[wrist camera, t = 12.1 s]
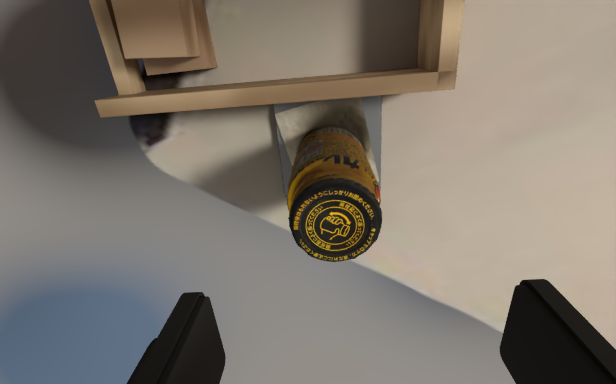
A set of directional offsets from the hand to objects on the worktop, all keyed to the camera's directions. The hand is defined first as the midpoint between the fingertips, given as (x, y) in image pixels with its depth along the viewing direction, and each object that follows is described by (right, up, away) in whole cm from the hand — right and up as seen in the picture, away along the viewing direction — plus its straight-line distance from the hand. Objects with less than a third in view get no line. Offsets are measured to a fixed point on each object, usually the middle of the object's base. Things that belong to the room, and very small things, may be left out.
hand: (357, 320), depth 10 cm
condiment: (0, +8, +18) cm, 20 cm away
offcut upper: (-12, +17, +13) cm, 25 cm away
